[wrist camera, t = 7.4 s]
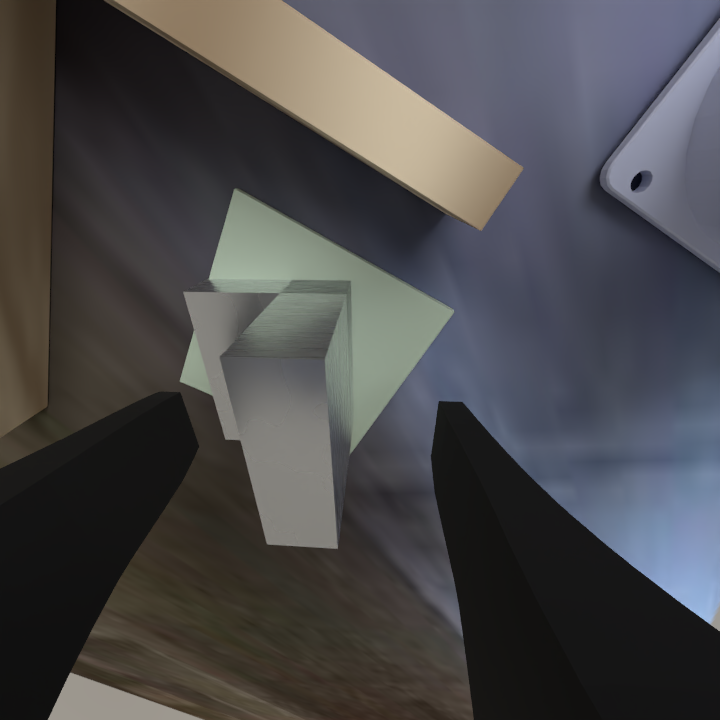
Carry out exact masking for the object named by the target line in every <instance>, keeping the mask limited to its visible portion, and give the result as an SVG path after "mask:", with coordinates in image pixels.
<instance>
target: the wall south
mask: <svg viewBox="0 0 720 720" xmlns="http://www.w3.org/2000/svg"><path fill="white" fill-rule="evenodd" d="M104 1H105V2H107V3H109V4H110V5H112V6H113V7H115V8H117V9H118V10H120V11H121V12H123V13H125V14H126V15H128V16H129V17H131V18H133V19H134V20H136V21H137V22H139V23H141V24H142V25H144V26H145V27H147V28H149V29H150V30H152V31H153V32H155V33H157V34H158V35H160V36H161V37H163V38H165V39H166V40H168V41H169V42H171V43H173V44H174V45H176V46H177V47H179V48H181V49H182V50H184V51H185V52H187V53H189V54H190V55H192V56H193V57H195V58H197V59H198V60H200V61H201V62H203V63H205V64H206V65H208V66H210V67H211V68H213V69H214V70H216V71H218V72H219V73H221V74H222V75H224V76H226V77H227V78H229V79H230V80H232V81H234V82H235V83H237V84H238V85H240V86H242V87H243V88H245V89H246V90H248V91H250V92H251V93H253V94H254V95H256V96H258V97H259V98H261V99H262V100H264V101H266V102H267V103H269V104H270V105H272V106H274V107H275V108H277V109H278V110H280V111H282V112H283V113H285V114H286V115H288V116H290V117H291V118H293V119H294V120H296V121H298V122H299V123H301V124H302V125H304V126H306V127H307V128H309V129H310V130H312V131H314V132H315V133H317V134H318V135H320V136H322V137H323V138H325V139H326V140H328V141H330V142H331V143H333V144H334V145H336V146H338V147H339V148H341V149H343V150H344V151H346V152H347V153H349V154H351V155H352V156H354V157H355V158H357V159H359V160H360V161H362V162H363V163H365V164H367V165H368V166H370V167H371V168H373V169H375V170H376V171H378V172H379V173H381V174H383V175H384V176H386V177H387V178H389V179H391V180H392V181H394V182H395V183H397V184H399V185H400V186H402V187H403V188H405V189H407V190H408V191H410V192H411V193H413V194H415V195H416V196H418V197H419V198H421V199H423V200H424V201H426V202H427V203H429V204H431V205H432V206H434V207H435V208H437V209H439V210H440V211H442V212H443V213H445V214H447V215H449V216H451V217H453V218H455V219H457V220H459V221H462V222H464V223H466V224H468V225H470V226H472V227H474V228H476V229H478V230H480V231H481V230H482V229H483V227H484V226H485V224H486V223H487V221H488V220H489V219H490V217H491V216H492V214H493V213H494V211H495V210H496V208H497V207H498V205H499V204H500V202H501V201H502V199H503V198H504V197H505V195H506V194H507V192H508V191H509V189H510V188H511V186H512V185H513V183H514V182H515V180H516V179H517V177H518V176H519V174H520V173H521V172H522V170H523V169H524V168H523V167H522V166H520V165H519V164H517V163H516V162H514V161H513V160H511V159H510V158H509V157H507V156H506V155H504V154H503V153H501V152H500V151H498V150H497V149H496V148H494V147H493V146H491V145H490V144H488V143H487V142H485V141H484V140H483V139H481V138H480V137H478V136H477V135H475V134H474V133H472V132H471V131H470V130H468V129H467V128H465V127H464V126H462V125H461V124H459V123H458V122H457V121H455V120H454V119H452V118H451V117H449V116H448V115H446V114H445V113H444V112H442V111H441V110H439V109H438V108H436V107H435V106H433V105H432V104H431V103H429V102H428V101H426V100H425V99H423V98H422V97H420V96H419V95H418V94H416V93H415V92H413V91H412V90H410V89H409V88H407V87H406V86H405V85H403V84H402V83H400V82H399V81H397V80H396V79H394V78H393V77H392V76H390V75H389V74H387V73H386V72H384V71H383V70H381V69H380V68H379V67H377V66H376V65H374V64H373V63H371V62H370V61H368V60H367V59H366V58H364V57H363V56H361V55H360V54H358V53H357V52H355V51H354V50H353V49H351V48H350V47H348V46H347V45H345V44H344V43H342V42H341V41H340V40H338V39H337V38H335V37H334V36H332V35H331V34H329V33H328V32H327V31H325V30H324V29H322V28H321V27H319V26H318V25H316V24H315V23H314V22H312V21H311V20H309V19H308V18H306V17H305V16H303V15H302V14H301V13H299V12H298V11H296V10H295V9H293V8H292V7H290V6H289V5H288V4H286V3H285V2H283V1H282V0H104Z"/></svg>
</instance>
